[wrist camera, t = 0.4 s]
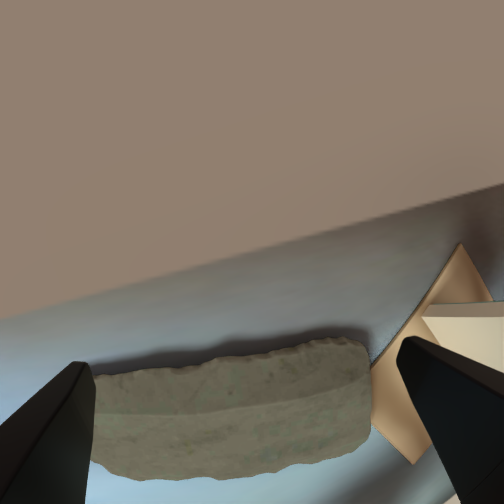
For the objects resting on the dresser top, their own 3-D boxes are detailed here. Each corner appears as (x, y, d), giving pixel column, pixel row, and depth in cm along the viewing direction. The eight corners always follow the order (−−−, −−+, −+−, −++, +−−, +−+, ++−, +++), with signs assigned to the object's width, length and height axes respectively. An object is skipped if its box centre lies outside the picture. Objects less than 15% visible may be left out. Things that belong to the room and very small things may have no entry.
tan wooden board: (411, 463, 22) (413, 464, 22) (343, 395, 22) (346, 397, 22) (502, 325, 27) (505, 325, 26) (458, 243, 26) (460, 243, 26)
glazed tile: (453, 365, 24) (537, 377, 14) (421, 316, 24) (514, 316, 14) (462, 351, 24) (544, 359, 15) (431, 302, 24) (523, 296, 15)
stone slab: (358, 436, 22) (358, 327, 22) (373, 452, 20) (378, 335, 20) (92, 471, 18) (55, 362, 18) (84, 491, 16) (39, 375, 16)
